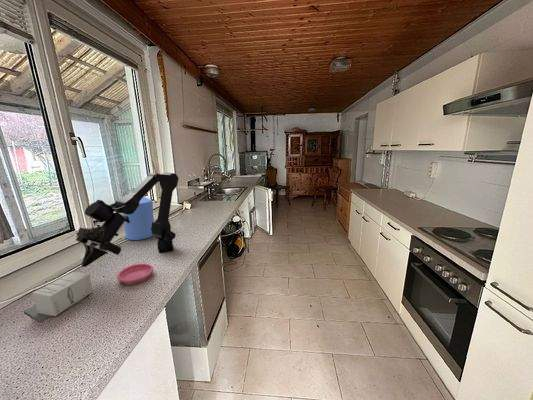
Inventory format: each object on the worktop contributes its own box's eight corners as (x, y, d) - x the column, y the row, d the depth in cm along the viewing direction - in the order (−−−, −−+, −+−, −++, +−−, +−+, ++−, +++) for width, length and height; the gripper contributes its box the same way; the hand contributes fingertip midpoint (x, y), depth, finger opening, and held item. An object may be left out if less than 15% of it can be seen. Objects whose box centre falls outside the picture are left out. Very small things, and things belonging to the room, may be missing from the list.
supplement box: (94, 291, 80) (55, 317, 68) (77, 288, 81) (36, 313, 69) (90, 273, 78) (50, 296, 66) (73, 270, 79) (30, 293, 67)
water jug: (147, 241, 123) (141, 191, 117) (119, 240, 124) (111, 191, 117) (160, 230, 138) (156, 186, 132) (136, 230, 139) (129, 186, 132)
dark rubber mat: (69, 290, 81) (69, 289, 81) (85, 298, 77) (85, 297, 77) (24, 311, 70) (23, 310, 70) (40, 322, 66) (39, 321, 66)
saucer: (160, 275, 91) (159, 268, 91) (129, 291, 81) (128, 283, 80) (142, 266, 97) (141, 260, 97) (111, 281, 87) (110, 273, 86)
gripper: (77, 214, 84) (45, 253, 77) (107, 221, 77) (76, 265, 69) (102, 227, 93) (76, 263, 86) (132, 235, 86) (106, 275, 78)
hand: (83, 266), depth 80 cm, fingers closed
